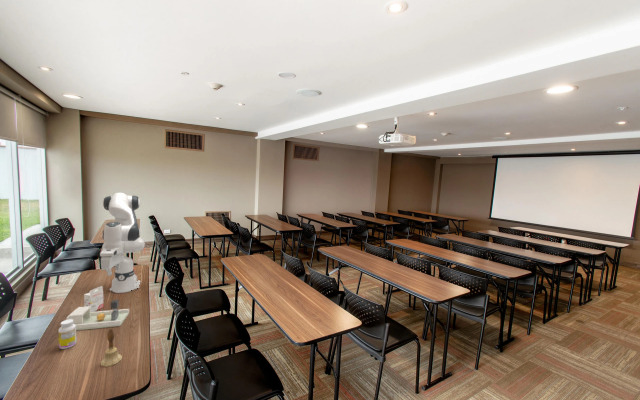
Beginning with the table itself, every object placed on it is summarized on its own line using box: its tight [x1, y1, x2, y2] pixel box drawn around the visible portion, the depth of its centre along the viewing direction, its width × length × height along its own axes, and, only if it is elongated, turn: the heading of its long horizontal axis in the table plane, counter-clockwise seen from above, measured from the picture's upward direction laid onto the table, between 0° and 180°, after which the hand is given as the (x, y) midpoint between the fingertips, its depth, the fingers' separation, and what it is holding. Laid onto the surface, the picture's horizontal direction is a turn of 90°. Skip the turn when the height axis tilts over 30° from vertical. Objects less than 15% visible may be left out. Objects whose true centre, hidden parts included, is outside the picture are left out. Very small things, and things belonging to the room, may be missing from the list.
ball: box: [97, 313, 105, 321], centre depth 161 cm, size 4×4×4 cm
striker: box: [110, 299, 120, 321], centre depth 163 cm, size 5×3×11 cm, turn 18°
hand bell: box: [100, 327, 123, 368], centre depth 129 cm, size 8×8×16 cm
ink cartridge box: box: [83, 285, 105, 312], centre depth 174 cm, size 9×5×15 cm, turn 168°
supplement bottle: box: [57, 319, 77, 350], centre depth 138 cm, size 7×7×13 cm
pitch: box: [66, 306, 130, 331], centre depth 161 cm, size 15×26×8 cm, turn 108°
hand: (113, 272), depth 162 cm, fingers open, 8 cm apart
